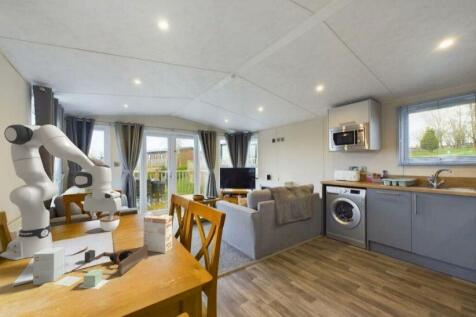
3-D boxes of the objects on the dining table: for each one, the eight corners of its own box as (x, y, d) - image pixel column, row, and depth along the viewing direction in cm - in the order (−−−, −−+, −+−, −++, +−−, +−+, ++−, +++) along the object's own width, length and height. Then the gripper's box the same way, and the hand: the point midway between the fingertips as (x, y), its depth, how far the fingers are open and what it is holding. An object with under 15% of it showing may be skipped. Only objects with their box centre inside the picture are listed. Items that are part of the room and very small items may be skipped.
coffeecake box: (172, 248, 118) (172, 215, 118) (165, 253, 111) (165, 218, 112) (151, 245, 122) (151, 213, 122) (142, 250, 115) (143, 216, 116)
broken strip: (52, 287, 81) (52, 284, 81) (66, 278, 87) (66, 275, 87) (97, 292, 79) (97, 289, 79) (109, 282, 84) (109, 280, 84)
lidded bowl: (122, 228, 151) (123, 214, 151) (104, 234, 140) (104, 218, 140) (114, 225, 157) (114, 212, 158) (96, 230, 147) (96, 215, 147)
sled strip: (68, 273, 91) (68, 258, 91) (102, 254, 110) (102, 241, 110) (121, 278, 87) (121, 263, 87) (147, 257, 107) (147, 244, 107)
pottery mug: (137, 259, 105) (138, 249, 102) (128, 277, 97) (130, 266, 93) (113, 255, 103) (114, 244, 100) (102, 273, 95) (103, 261, 91)
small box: (65, 275, 90) (65, 246, 90) (53, 284, 83) (53, 253, 83) (45, 276, 89) (46, 247, 89) (32, 285, 83) (32, 254, 83)
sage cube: (83, 286, 80) (83, 275, 80) (91, 280, 84) (91, 269, 84) (95, 286, 80) (95, 275, 80) (102, 280, 85) (102, 269, 85)
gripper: (80, 194, 106) (80, 220, 106) (115, 195, 104) (115, 221, 103) (90, 192, 112) (90, 217, 112) (123, 193, 110) (123, 218, 110)
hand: (102, 219), depth 108 cm, fingers open, 8 cm apart
